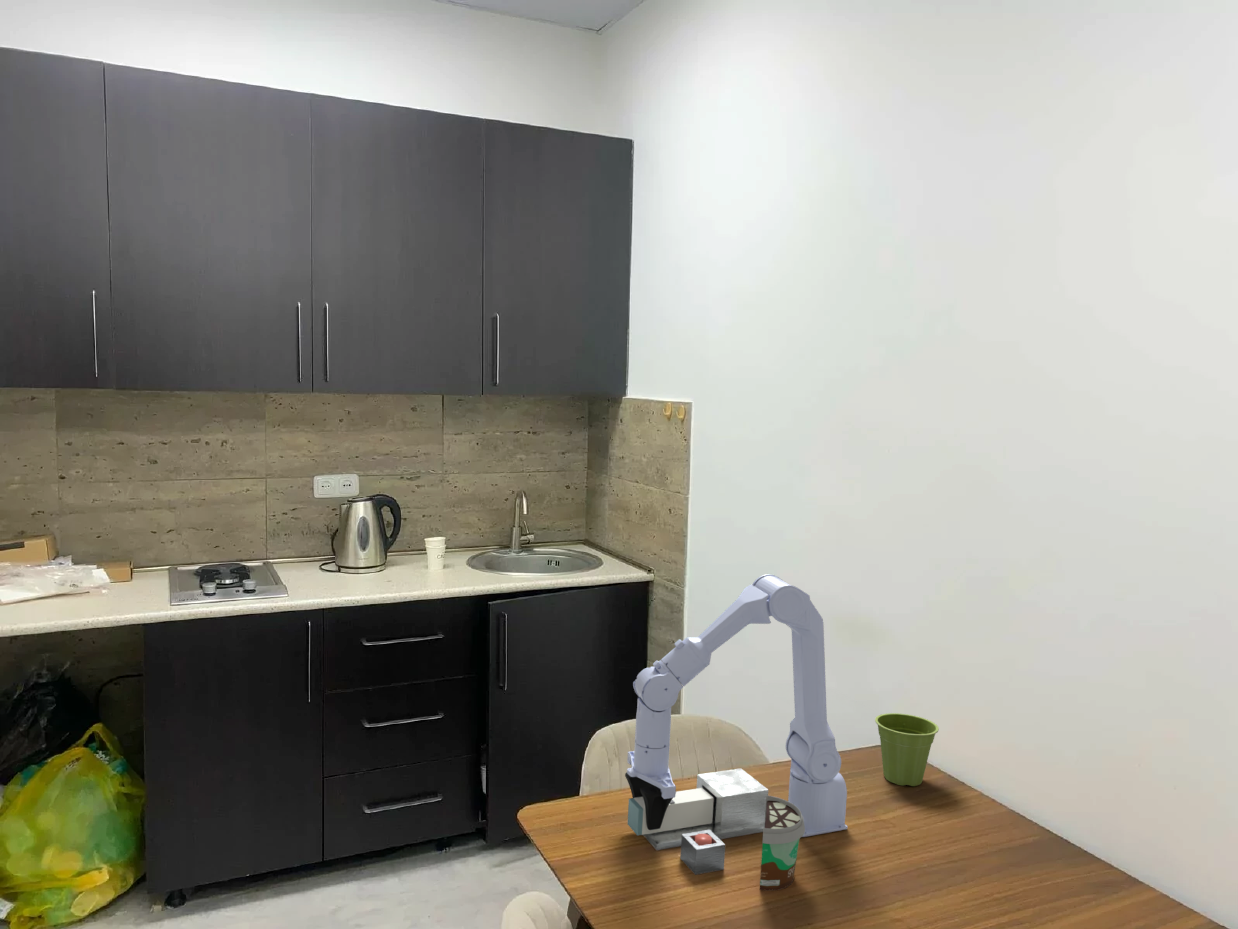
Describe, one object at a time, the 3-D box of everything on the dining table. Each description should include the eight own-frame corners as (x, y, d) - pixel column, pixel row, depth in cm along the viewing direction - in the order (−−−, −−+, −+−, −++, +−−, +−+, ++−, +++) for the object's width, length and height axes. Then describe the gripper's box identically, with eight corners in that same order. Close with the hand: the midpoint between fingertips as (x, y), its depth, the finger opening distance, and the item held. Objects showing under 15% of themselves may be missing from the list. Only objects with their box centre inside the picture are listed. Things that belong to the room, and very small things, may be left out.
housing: (738, 804, 161) (740, 767, 161) (768, 831, 152) (771, 791, 152) (631, 821, 153) (633, 782, 152) (656, 850, 144) (658, 808, 143)
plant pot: (936, 774, 179) (941, 719, 178) (931, 798, 168) (936, 739, 167) (875, 762, 184) (879, 708, 183) (866, 783, 173) (870, 727, 172)
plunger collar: (708, 853, 144) (709, 829, 143) (723, 869, 139) (725, 844, 139) (680, 858, 142) (681, 834, 141) (695, 875, 137) (696, 849, 137)
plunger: (705, 857, 142) (706, 832, 142) (713, 865, 140) (714, 840, 139) (690, 859, 141) (692, 835, 141) (698, 868, 139) (700, 843, 138)
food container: (801, 902, 131) (806, 836, 130) (759, 895, 132) (763, 829, 132) (801, 859, 143) (805, 799, 142) (762, 853, 145) (766, 793, 144)
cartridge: (700, 812, 155) (702, 786, 154) (712, 823, 151) (713, 796, 151) (627, 824, 149) (628, 797, 149) (637, 835, 146) (638, 808, 145)
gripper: (612, 728, 152) (608, 805, 154) (648, 762, 139) (644, 847, 140) (650, 724, 155) (646, 800, 156) (689, 757, 142) (684, 840, 143)
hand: (647, 822), depth 149 cm, fingers closed on cartridge, 4 cm apart
